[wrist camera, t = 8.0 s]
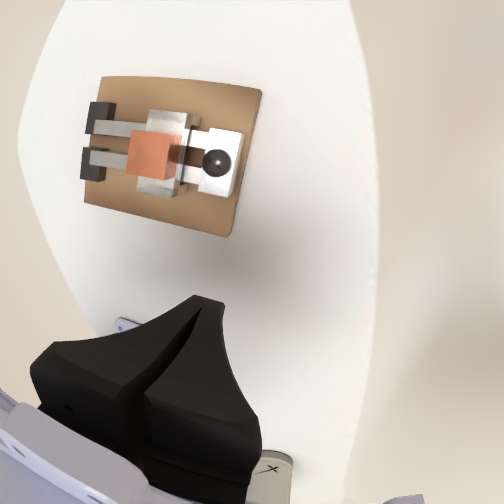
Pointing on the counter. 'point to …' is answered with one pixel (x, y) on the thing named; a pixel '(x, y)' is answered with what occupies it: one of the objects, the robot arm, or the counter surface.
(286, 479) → the travel mug
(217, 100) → the walnut board
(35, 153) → the counter surface
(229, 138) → the sliding bar clamp
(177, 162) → the collar
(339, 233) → the counter surface
